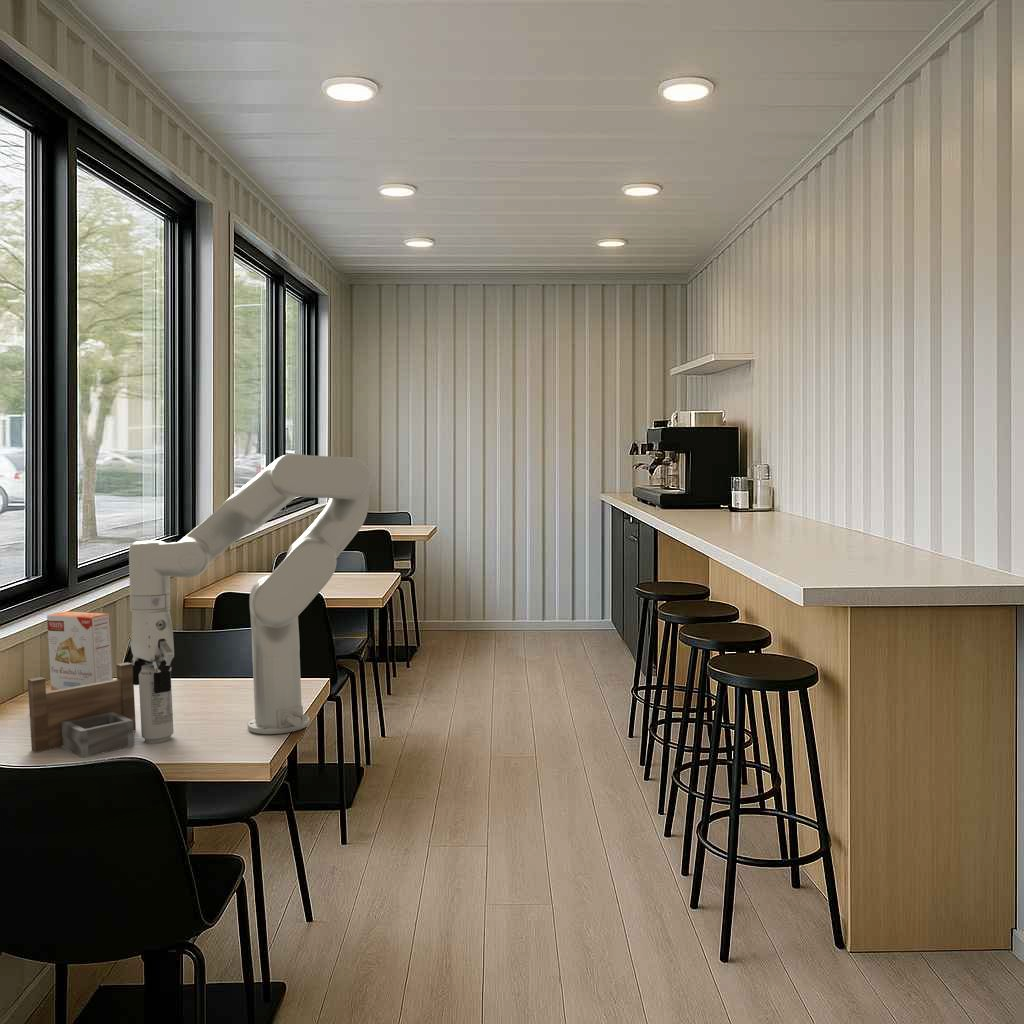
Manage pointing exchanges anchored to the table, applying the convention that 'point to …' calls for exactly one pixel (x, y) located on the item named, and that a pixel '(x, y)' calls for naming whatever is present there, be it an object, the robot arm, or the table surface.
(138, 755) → the table surface
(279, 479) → the robot arm
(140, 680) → the energy drink can
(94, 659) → the cracker box
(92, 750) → the wooden holder with tray
